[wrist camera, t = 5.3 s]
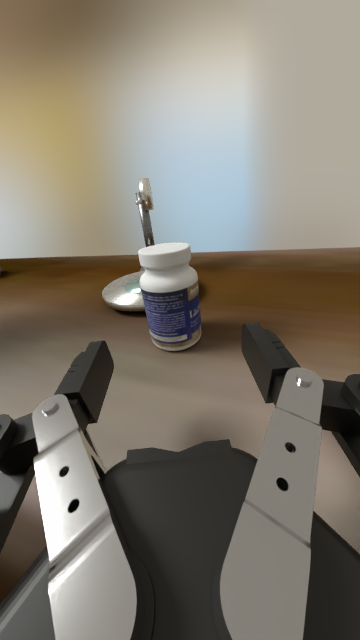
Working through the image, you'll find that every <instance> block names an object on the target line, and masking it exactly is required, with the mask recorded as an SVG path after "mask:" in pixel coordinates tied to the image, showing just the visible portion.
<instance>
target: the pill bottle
mask: <svg viewBox="0 0 360 640" xmlns="http://www.w3.org/2000/svg"><path fill="white" fill-rule="evenodd" d="M138 254H139V260H140V265H141V266H143V267H144V268H145V272H144V273H143V274H142V276H141V278H140V289H141V293H142V298H143V302H144V307H145V311H146V316H147V321H148V325H149V330H150V334H151V338H152V341H153V343H154V344H155V345H156V346H157V347H159V348H161V349H163V350H167V351H179V350H183V349H187V348H189V347H191V346H193V345H194V344H195V343H196V342H197V341H198V340H199V339H200V337H201V318H200V303H199V287H198V276H197V273H196V271H195V270H194V269H193V268H192V267H190V266H189V261H190V259H191V251H190V245H189V244H187V243H165V244H158V245H153V246H148V247H145V248H142V249H140V250H139V251H138Z"/></svg>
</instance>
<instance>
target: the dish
mask: <svg viewBox="0 0 360 640" xmlns="http://www.w3.org/2000/svg"><path fill="white" fill-rule="evenodd" d="M144 272H145V271H140V272H136V273H132V274H129V275H126V276H123V277H121V278H119V279H117V280H115V281H113V282H111V283H110V284H108V285H107V286H106V287H105V288H104V290H103V292H102V296H103V299H104V302H105V303H106V305H108V306H109V307H111V308H113V309H117V310H122V311H131V312H146V311H145V307H144V302H143V298H142V293H141V289H140V278H141V276H142V274H143V273H144Z"/></svg>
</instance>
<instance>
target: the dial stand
mask: <svg viewBox="0 0 360 640" xmlns="http://www.w3.org/2000/svg"><path fill="white" fill-rule="evenodd" d="M139 188H140V192H139V193H136V197H137V201H136V204H137V205H138V207H139V213H140V218H141V223H142V228H143V233H144V238H145V244H146V247H148V246H153V245H154V240H153V233H152V227H151V221H150V216H149V210H153V200H152V193H151V188H150V183H149V179H148V178H144V179H139ZM140 271H145V268H144V267H143V266H142V267H141V269H140Z"/></svg>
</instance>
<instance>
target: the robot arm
mask: <svg viewBox="0 0 360 640" xmlns="http://www.w3.org/2000/svg"><path fill="white" fill-rule="evenodd" d="M242 352H243V355H244V358H245V360H246V362H247V364H248V366H249V368H250V371H251V373H252V375H253V377H254V379H255V381H256V383H257V386H258V388H259V390H260V392H261V394H262V396H263V398H264V401H265V403H274V404H275V408H274V410H273V414H272V417H271V420H270V423H269V426H268V429H267V432H266V435H265V438H264V442H263V445H262V448H261V451H260V454H259V457H258V459H257V458H255V457H254V456H252V455H251V454H249V453H247V452H245V451H242V450H239V449H236V448H231V445H230V441H229V439H228V440H219V441H209V442H203V443H201V444H198V445H196V446H193V447H191V448H188V449H186V450H183V451H181V452H173V451H168V450H163V449H157V448H144V449H135V450H128V451H127V458H126V459H125V460H123V461H121V462H120V463H118V464H116V465H115V466H113V467H112V468H111V469H110V470H108V471H107V470H106V468H105V467H104V465H103V463H102V461H101V459H100V456H99V454H98V452H97V450H96V447H95V445H94V443H93V441H92V438H91V436H90V434H89V432H88V430H87V429H86V428H87V425H88V424H90V423H97V420H98V417H99V414H100V411H101V408H102V405H103V401H104V398H105V395H106V392H107V389H108V386H109V383H110V379H111V376H112V373H113V369H114V363H113V359H112V357H111V354H110V351H109V349H108V346H107V344H106V342H105V341H97V342H91V343H89V345H88V347H87V349H86V351H85V352H81V353H80V354H79V355H78V356H77V357H76V358H75V359H74V361H73V363H72V364H71V367H70V368H69V370H68V371H67V374H66V375H65V377H64V378H63V380H62V382H61V383H60V385H59V387H58V389H57V390H56V392H55V394H54V395H53V396H50V397H48V398H47V399H45V400H43V401H42V402H41V403H40V404H39V405H38V406H37V407H36V408H35V410H34V412H33V413H31V414H28V415H26V416H23V417H20V418H18V419H15V420H13V419H12V418H11V417H10V416H9V415H6V414H2V415H0V553H1V550H2V548H3V546H4V543H5V541H6V539H7V536H8V534H9V532H10V530H11V527H12V525H13V523H14V520H15V518H16V516H17V513H18V511H19V509H20V507H21V504H22V502H23V500H24V497H25V495H26V493H27V490H28V488H29V486H30V483H31V481H32V479H33V477H34V474H36V481H37V487H38V493H39V499H40V505H41V511H42V517H43V523H44V529H45V535H46V541H47V546H46V547H45V549H44V550H43V551H42V552H41V554H40V555H39V556H38V557H37V559H36V560H35V561H34V562H33V564H32V565H31V566H30V567H29V569H28V570H27V571H26V573H25V574H24V575H23V576H22V578H21V579H20V580H19V581H18V583H17V584H16V585H15V586H14V588H13V589H12V590H11V591H10V593H9V594H8V595H7V597H6V598H5V599H4V600H3V602H2V603H1V604H0V640H360V554H359V553H358V552H357V551H356V550H355V549H353V548H352V547H351V546H350V545H349V544H348V543H347V542H346V541H345V540H344V539H343V538H342V537H341V536H340V535H339V534H338V533H336V532H335V531H334V530H333V529H332V528H331V527H330V526H329V525H328V524H327V523H326V522H325V521H324V520H323V519H322V518H321V517H320V516H318V515H317V514H316V513H315V512H314V511H313V507H314V498H315V489H316V480H317V471H318V461H319V452H320V443H321V434H322V429H323V430H328V431H331V432H332V434H333V435H334V437H335V438H336V440H337V442H338V443H339V445H340V446H341V448H342V450H343V451H344V453H345V454H346V456H347V458H348V459H349V461H350V462H351V464H352V466H353V467H354V469H355V470H356V472H357V474H358V475H359V477H360V374H353V375H349V376H348V377H347V378H346V380H345V382H337V381H330V380H323V379H321V378H320V376H319V375H317V374H316V373H315V372H313V371H311V370H309V369H305V368H301V367H300V366H299V364H298V363H297V362H296V360H295V359H294V358H293V356H292V355H291V354H290V353H289V351H288V350H287V349H286V348H285V346H284V345H283V343H281V341H280V340H279V338H278V337H277V336H276V335H275V334H274V333H272V332H271V331H269V330H263V329H262V328H261V326H260V325H259V323H257V322H256V323H247V324H243V330H242Z"/></svg>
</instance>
